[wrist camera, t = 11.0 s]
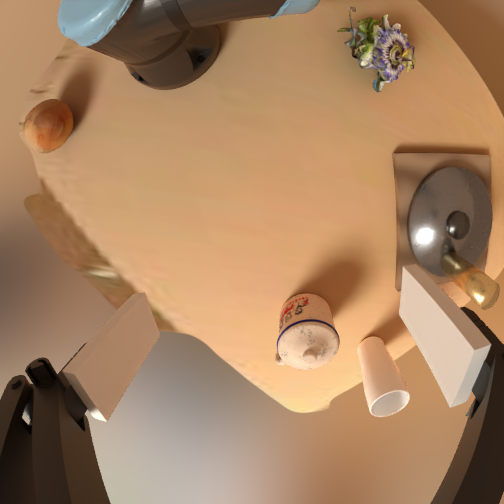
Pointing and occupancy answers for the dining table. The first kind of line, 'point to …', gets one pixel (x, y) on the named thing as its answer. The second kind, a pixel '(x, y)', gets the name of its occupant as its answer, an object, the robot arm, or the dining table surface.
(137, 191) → the dining table surface
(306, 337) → the teacup with lid
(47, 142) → the onion
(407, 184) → the base plate
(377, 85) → the passion flower
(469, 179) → the handwheel
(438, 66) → the dining table surface
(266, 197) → the dining table surface
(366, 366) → the drinking glass
